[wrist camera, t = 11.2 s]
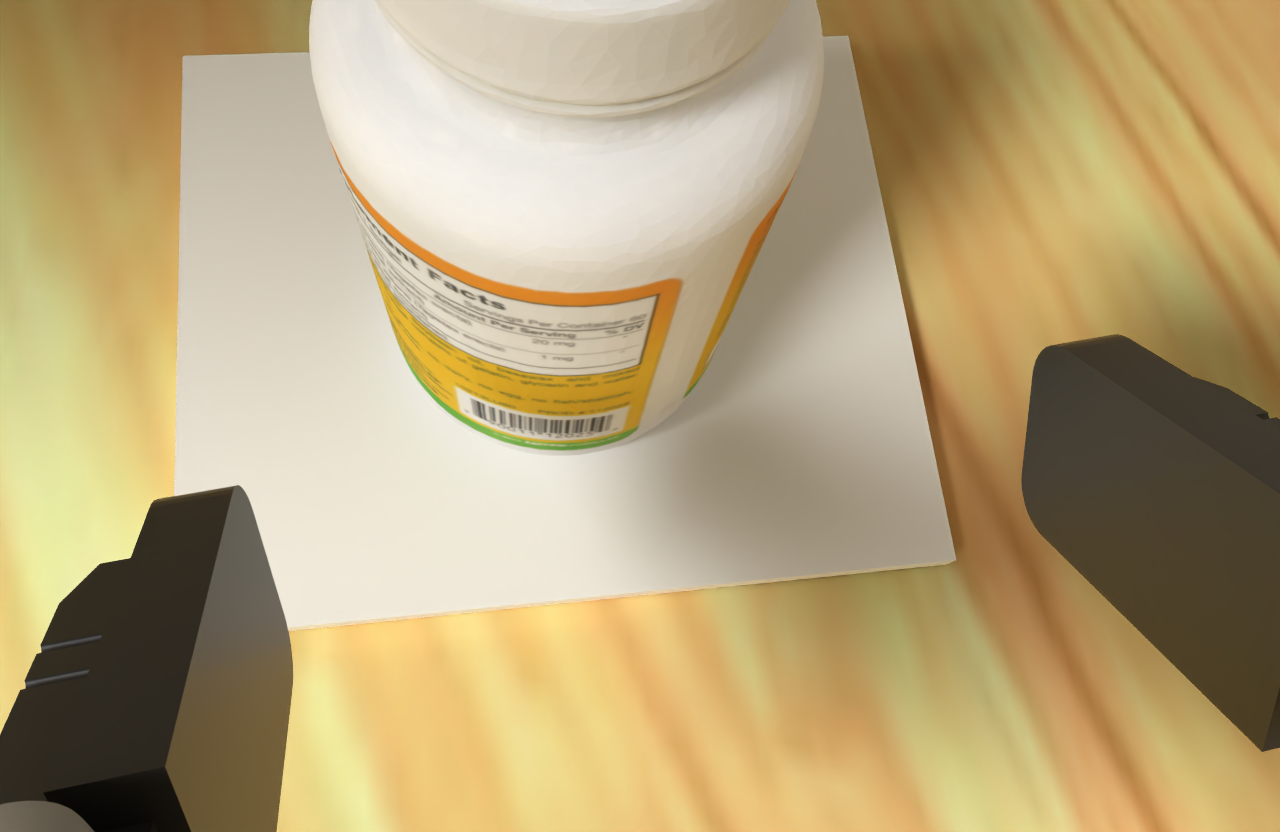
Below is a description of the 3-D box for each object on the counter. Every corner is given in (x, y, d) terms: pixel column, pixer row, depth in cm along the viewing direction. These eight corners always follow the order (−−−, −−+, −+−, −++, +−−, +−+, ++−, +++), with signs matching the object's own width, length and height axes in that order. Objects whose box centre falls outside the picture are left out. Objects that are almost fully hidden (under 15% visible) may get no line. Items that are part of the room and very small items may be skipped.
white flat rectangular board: (180, 641, 16) (171, 639, 15) (189, 70, 18) (182, 56, 18) (947, 564, 17) (956, 560, 17) (842, 49, 20) (848, 35, 20)
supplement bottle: (596, 114, 19) (660, -517, 9) (781, 348, 18) (1060, -104, 8) (328, 264, 17) (95, -304, 8) (513, 529, 16) (489, 225, 7)
